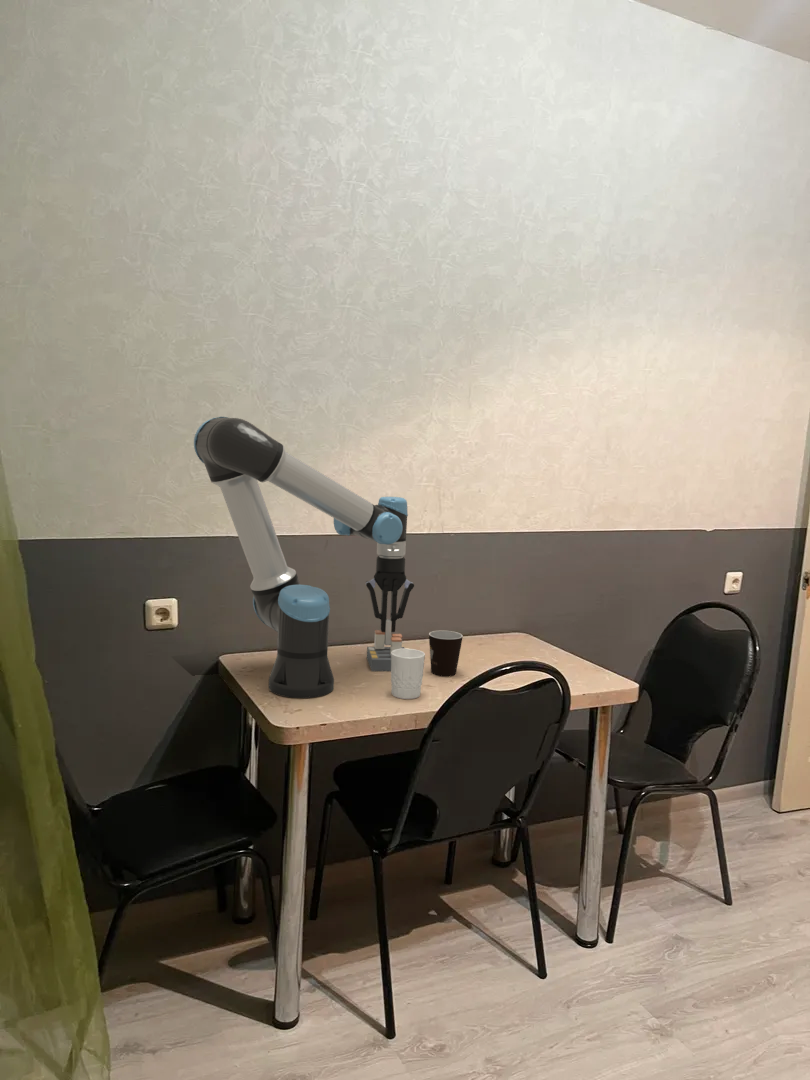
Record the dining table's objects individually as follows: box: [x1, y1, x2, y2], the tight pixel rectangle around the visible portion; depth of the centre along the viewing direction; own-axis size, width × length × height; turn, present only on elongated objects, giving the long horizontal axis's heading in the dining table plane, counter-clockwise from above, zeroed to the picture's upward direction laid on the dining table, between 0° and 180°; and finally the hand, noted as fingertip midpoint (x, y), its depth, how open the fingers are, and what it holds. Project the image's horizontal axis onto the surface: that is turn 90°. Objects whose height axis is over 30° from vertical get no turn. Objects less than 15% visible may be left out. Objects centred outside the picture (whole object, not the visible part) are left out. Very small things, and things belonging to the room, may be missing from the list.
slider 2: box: [391, 633, 403, 649], centre depth 211 cm, size 2×2×4 cm
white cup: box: [390, 647, 426, 700], centre depth 188 cm, size 8×8×10 cm
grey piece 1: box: [390, 636, 403, 655], centre depth 208 cm, size 2×2×4 cm
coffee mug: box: [428, 629, 464, 678], centre depth 208 cm, size 12×9×10 cm
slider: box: [373, 629, 385, 649], centre depth 214 cm, size 2×2×4 cm
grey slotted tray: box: [366, 646, 405, 672], centre depth 211 cm, size 10×12×3 cm
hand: (387, 643), depth 215 cm, fingers closed
